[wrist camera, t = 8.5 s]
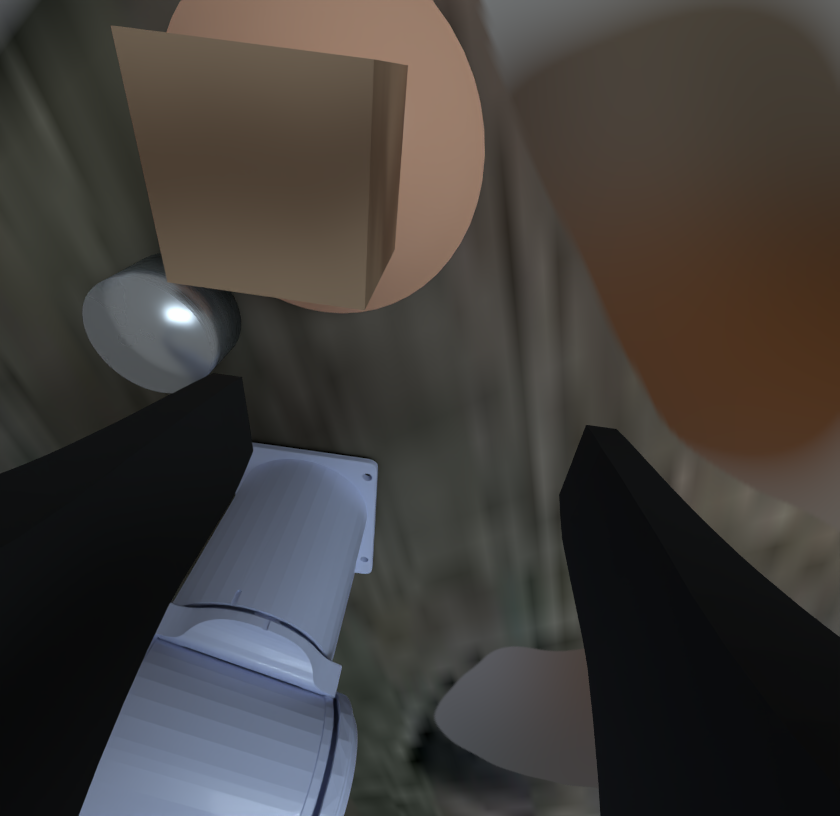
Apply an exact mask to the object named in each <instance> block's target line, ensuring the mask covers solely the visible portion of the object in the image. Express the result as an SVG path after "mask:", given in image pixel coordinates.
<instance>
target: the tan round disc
mask: <svg viewBox="0 0 840 816" xmlns="http://www.w3.org/2000/svg"><path fill="white" fill-rule="evenodd" d="M166 33H173V34H181V35H189V36H197V37H204V38H212V39H220V40H228V41H235V42H243V43H251V44H259V45H266V46H274V47H282V48H290V49H298V50H305V51H313V52H321V53H329V54H336V55H344V56H352V57H360V58H367V59H375V60H381V61H386V62H392V63H398V64H403V65H408V73H407V86H406V100H405V114H404V128H403V142H402V156H401V170H400V184H399V197H398V211H397V225H396V239H395V250H394V252H393V254H392V256H391V258H390V260H389V262H388V264H387V266H386V268H385V270H384V272H383V274H382V276H381V278H380V280H379V282H378V284H377V287H376V289H375V291H374V293H373V295H372V297H371V299H370V301H369V303H368V305H367V307H366V309H365V310H359V309H352V308H345V307H338V306H331V305H324V304H316V303H309V302H302V301H295V300H288V299H281V298H279V299H281V300H283V301H286V302H288V303H290V304H293V305H297V306H300V307H303V308H306V309H311V310H316V311H321V312H330V313H357V312H364V311H369V310H374V309H378V308H381V307H384V306H387V305H390V304H393V303H395V302H397V301H399V300H401V299H403V298H405V297H408V296H409V295H411V294H412V293H414V292H415V291H417V290H418V289H420V288H421V287H423V286H424V285H425V284H426V283H427V282H429V281H430V280H431V279H432V278H433V277H434V276H435V275H437V274H438V272H439V271H440V270H441V269H442V268H443V267H444V265H445V264H446V263H447V262H448V261H449V260H450V258H451V257H452V255H453V254H454V252H455V251H456V249H457V248H458V246H459V245H460V243H461V241H462V239H463V237H464V235H465V233H466V231H467V229H468V227H469V225H470V223H471V220H472V217H473V214H474V211H475V209H476V206H477V203H478V198H479V193H480V189H481V184H482V179H483V168H484V158H485V147H484V123H483V115H482V108H481V101H480V97H479V93H478V89H477V85H476V81H475V77H474V75H473V72H472V69H471V67H470V64H469V62H468V59H467V57H466V54H465V52H464V50H463V48H462V47H461V45H460V43H459V41H458V39H457V37H456V35H455V33H454V32H453V30H452V28H451V26H450V25H449V23H448V22H447V20H446V19H445V18H444V16H443V15H442V13H441V12H440V10H439V9H438V8H437V6H436V5H435V3H434V2H433V1H432V0H181V1H180V3H179V5H178V7H177V8H176V10H175V12H174V14H173V16H172V18H171V21H170V24H169V27H168V30H167V32H166Z"/></svg>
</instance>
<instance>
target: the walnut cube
mask: <svg viewBox="0 0 840 816" xmlns="http://www.w3.org/2000/svg"><path fill="white" fill-rule="evenodd" d="M111 29H112V33H113V38H114V42H115V47H116V51H117V56H118V60H119V65H120V69H121V74H122V78H123V83H124V88H125V92H126V97H127V101H128V106H129V110H130V115H131V119H132V124H133V128H134V133H135V137H136V142H137V146H138V151H139V155H140V160H141V165H142V169H143V174H144V178H145V183H146V187H147V192H148V196H149V201H150V205H151V210H152V214H153V219H154V223H155V228H156V232H157V237H158V242H159V246H160V251H161V255H162V260H163V264H164V269H165V273H166V278H167V282H169V283H176V284H183V285H190V286H197V287H204V288H211V289H218V290H225V291H232V292H239V293H246V294H253V295H260V296H267V297H274V298H281V299H288V300H295V301H302V302H309V303H316V304H324V305H331V306H338V307H345V308H352V309H359V310H365V309H366V307H367V305H368V303H369V301H370V299H371V297H372V295H373V293H374V291H375V289H376V287H377V284H378V282H379V280H380V278H381V276H382V274H383V272H384V270H385V268H386V266H387V264H388V262H389V260H390V258H391V256H392V254H393V252H394V250H395V239H396V225H397V211H398V197H399V184H400V170H401V156H402V142H403V128H404V114H405V100H406V86H407V73H408V65H403V64H398V63H392V62H386V61H381V60H375V59H367V58H360V57H352V56H344V55H336V54H329V53H321V52H313V51H305V50H298V49H290V48H282V47H274V46H266V45H259V44H251V43H243V42H235V41H228V40H220V39H212V38H204V37H197V36H189V35H181V34H173V33H166V32H158V31H150V30H142V29H134V28H127V27H119V26H111Z"/></svg>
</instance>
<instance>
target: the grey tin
mask: <svg viewBox="0 0 840 816" xmlns="http://www.w3.org/2000/svg"><path fill="white" fill-rule="evenodd" d="M82 313H83V323H84V327H85V330H86V333H87V335H88V338H89V340H90V342H91V343H92V345H93V347H94V348H95V350H96V351H97V353H98V354H99V355H100V356H101V358H102V359H103V360H104V361H105V362H106V363H107V364H108V365H109V366H110V367H111V368H112V369H114V370H115V371H116V372H117V373H119V374H120V375H121V376H123V377H124V378H126V379H127V380H129V381H131V382H133V383H135V384H137V385H139V386H141V387H144V388H146V389H149V390H153V391H157V392H162V393H174V392H176V391H178V390H180V389H182V388H184V387H186V386H188V385H190V384H191V383H194V382H196V381H198V380H200V379H202V378H204V377H206V376H207V375H208V374H209V373H210V372H211V371H212V370H213V369H214V368H215V367H216V366H217V364H218V363H219V362H220V361H221V360H222V359H223V358H224V357H225V356H226V355H227V354H228V352H229V351H230V350H231V349H232V348H233V347H234V346H235V344H236V343H237V341H238V338H239V336H240V332H241V316H240V311H239V308H238V305H237V302H236V300H235V298H234V296H233V295H232V293H231V291H225V290H218V289H211V288H204V287H197V286H190V285H183V284H176V283H169V282H167V278H166V273H165V269H164V264H163V260H162V255H161V253H159V254H154V255H151V256H149V257H146V258H144V259H142V260H141V261H139V262H137V263H135V264H133V265H131V266H129V267H128V268H126V269H124V270H122V271H120V272H118V273H117V274H115V275H113V276H111V277H109V278H107V279H105V280H104V281H102V282H100V283H98V284H97V285H95V286H94V287H93V288H92V289H91V290H90V291H89V293H88V294H87V296H86V298H85V301H84V304H83V310H82Z"/></svg>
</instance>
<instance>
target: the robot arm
mask: <svg viewBox="0 0 840 816" xmlns="http://www.w3.org/2000/svg"><path fill="white" fill-rule="evenodd" d="M365 474H370V475H371V476H368V475H365ZM377 479H378V464H377V463H376V462H375V461H374V460H371V459H367V458H360V457H352V456H345V455H338V454H331V453H324V452H317V451H310V450H303V449H296V448H289V447H282V446H275V445H268V444H261V443H254V442H252V439H251V432H250V426H249V420H248V413H247V407H246V401H245V394H244V388H243V382H242V377H237V376H229V375H222V374H215V373H213V374H211V375H209V376H206V377H204V378H202V379H200V380H198V381H196V382H194V383H191V384H190V385H188V386H186V387H184V388H182V389H180V390H178V391H176V392H174V393H172V394H170V395H168V396H166V397H165V398H163V399H161V400H159V401H157V402H155V403H153V404H151V405H149V406H147V407H145V408H143V409H141V410H140V411H138V412H136V413H134V414H132V415H130V416H128V417H126V418H124V419H122V420H120V421H118V422H116V423H114V424H112V425H110V426H108V427H106V428H104V429H101V430H99V431H97V432H95V433H93V434H91V435H89V436H87V437H85V438H83V439H80V440H78V441H76V442H74V443H72V444H70V445H68V446H66V447H64V448H61V449H59V450H57V451H55V452H52V453H50V454H48V455H46V456H43V457H41V458H38V459H36V460H34V461H31V462H29V463H27V464H24V465H22V466H19V467H16V468H14V469H11V470H9V471H6V472H4V473H1V474H0V816H344V813H345V809H346V806H347V802H348V798H349V794H350V790H351V785H352V780H353V775H354V769H355V762H356V754H357V726H356V721H355V718H354V715H353V710H352V706H351V703H350V700H349V699H348V697H347V696H346V695H344V694H342V693H339V692H336V690H337V686H338V682H339V677H340V673H341V669H342V666H341V665H340V664H338V663H335V662H333V661H332V659H333V656H334V653H335V649H336V645H337V641H338V637H339V633H340V629H341V625H342V621H343V617H344V613H345V609H346V605H347V601H348V597H349V594H350V590H351V586H352V582H353V578H354V574H355V573H362V574H368V573H370V572H371V571H372V567H373V551H374V533H375V515H376V497H377ZM234 494H236V496H235V497H234V499H233V501H232V502H231V504H230V506H229V508H228V509H227V511H226V513H225V514H224V516H223V518H222V519H221V521H220V523H219V525H218V526H217V528H216V530H215V531H214V533H213V535H212V537H211V538H210V540H209V542H208V543H207V545H206V547H205V548H204V550H203V552H202V554H201V555H200V557H199V559H198V560H197V562H196V564H195V566H194V567H193V569H192V571H191V572H190V574H189V576H188V577H187V579H186V581H185V583H184V584H183V586H182V588H181V589H180V591H179V593H178V595H177V596H176V598H175V600H174V601H173V603H170V602H171V600H172V598H173V597H174V595H175V593H176V591H177V589H178V588H179V586H180V584H181V582H182V580H183V579H184V577H185V575H186V574H187V572H188V571H189V569H190V567H191V566H192V564H193V562H194V561H195V559H196V557H197V556H198V554H199V552H200V551H201V549H202V547H203V546H204V544H205V543H206V541H207V539H208V538H209V536H210V534H211V533H212V531H213V529H214V528H215V526H216V524H217V523H218V521H219V519H220V518H221V516H222V514H223V513H224V511H225V509H226V508H227V506H228V504H229V503H230V501H231V499H232V498H233V496H234ZM559 498H560V516H561V529H562V540H563V545H564V550H565V555H566V560H567V565H568V570H569V575H570V580H571V585H572V590H573V595H574V599H575V604H576V609H577V614H578V619H579V624H580V628H581V633H582V638H583V643H584V649H585V655H586V661H587V667H588V676H589V685H590V695H591V704H592V713H593V724H594V736H595V747H596V759H597V770H598V782H599V799H600V815H601V816H840V637H839V636H838V635H836V634H835V633H834V632H832V631H831V630H830V629H828V628H827V627H826V626H824V625H823V624H822V623H821V622H819V621H818V620H817V619H815V618H814V617H813V616H812V615H810V614H809V613H808V612H807V611H805V610H804V609H803V608H801V607H800V606H799V605H798V604H797V603H795V602H794V601H793V600H792V599H791V598H789V597H788V596H787V595H786V594H785V593H783V592H782V591H781V590H780V589H779V588H777V587H776V586H775V585H774V584H773V583H771V582H770V581H769V580H768V579H767V578H765V577H764V576H763V575H762V574H761V573H760V572H758V571H757V570H756V569H755V568H754V567H753V566H752V565H750V564H749V563H748V562H747V561H746V560H745V559H744V558H743V557H741V556H740V555H739V554H738V553H737V552H736V551H735V550H734V549H733V548H732V547H731V546H730V545H729V544H728V543H726V542H725V541H724V540H723V539H722V538H721V537H720V536H719V535H718V534H717V533H716V532H715V531H714V530H713V529H712V528H711V527H710V526H709V525H708V524H707V523H706V522H705V521H704V520H703V519H702V518H701V517H700V516H699V515H698V514H697V513H695V512H694V511H693V509H692V508H691V507H690V506H689V505H688V504H687V503H686V502H685V501H684V500H683V499H682V498H681V497H680V496H679V495H678V494H677V493H676V492H675V491H674V490H673V489H672V488H671V487H670V486H669V484H668V483H667V482H666V481H665V480H664V479H663V478H662V477H661V476H660V475H659V474H658V473H657V472H656V470H655V469H654V468H653V467H652V466H651V465H650V464H649V463H648V462H647V461H646V460H645V459H644V457H643V456H642V455H641V454H640V453H639V452H638V451H637V450H636V449H635V448H634V447H633V446H632V444H631V443H630V442H629V441H628V440H627V439H626V438H625V437H624V436H623V435H622V434H621V433H620V432H619V431H618V430H617V429H612V428H605V427H597V426H590V425H586V427H585V430H584V432H583V435H582V437H581V440H580V443H579V445H578V448H577V450H576V453H575V456H574V458H573V461H572V463H571V466H570V469H569V471H568V474H567V476H566V479H565V481H564V484H563V487H562V489H561V492H560V494H559Z"/></svg>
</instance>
